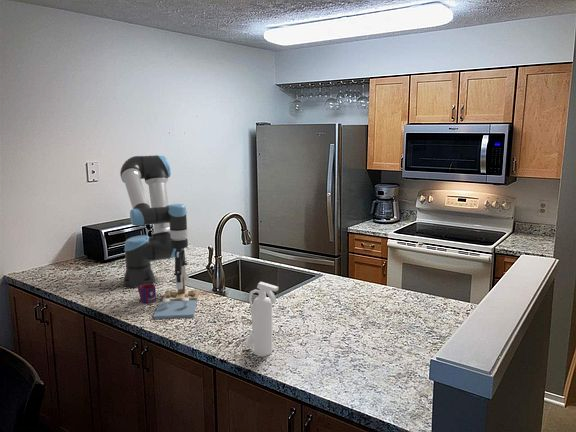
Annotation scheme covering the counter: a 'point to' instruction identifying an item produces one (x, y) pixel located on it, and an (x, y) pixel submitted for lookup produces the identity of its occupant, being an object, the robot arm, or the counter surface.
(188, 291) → the peg stand base
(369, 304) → the counter surface
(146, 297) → the red patterned cup
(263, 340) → the fire extinguisher
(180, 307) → the board
